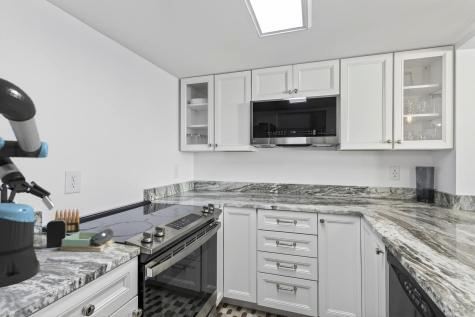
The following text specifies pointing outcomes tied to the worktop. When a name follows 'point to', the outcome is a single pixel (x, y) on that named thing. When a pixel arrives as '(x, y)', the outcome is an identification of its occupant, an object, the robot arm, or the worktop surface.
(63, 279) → the worktop surface
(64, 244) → the mint green tray
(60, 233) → the battery charger
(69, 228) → the ammunition clip
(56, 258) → the worktop surface
